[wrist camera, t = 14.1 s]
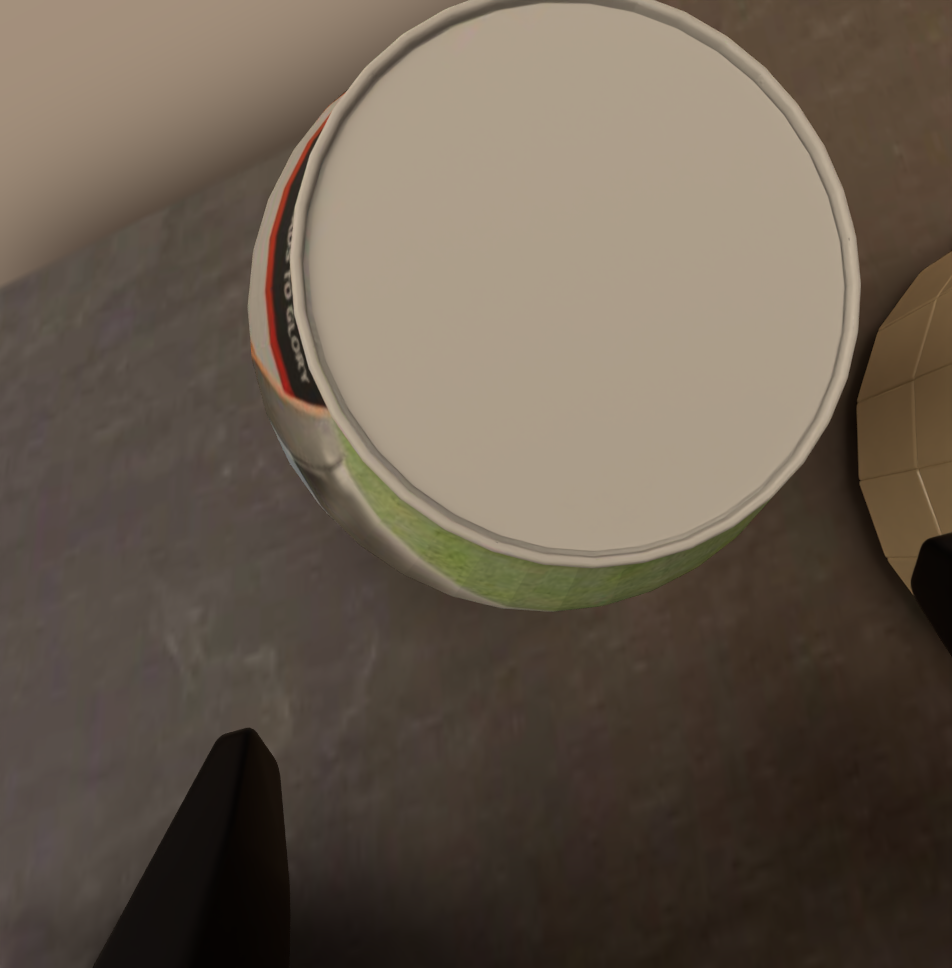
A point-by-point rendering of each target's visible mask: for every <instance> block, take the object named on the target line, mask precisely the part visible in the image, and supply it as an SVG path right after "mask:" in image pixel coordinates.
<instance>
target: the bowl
mask: <svg viewBox="0 0 952 968" xmlns="http://www.w3.org/2000/svg"><path fill="white" fill-rule="evenodd" d="M878 331H879V332H878V333H877V336H876V339H875V342H874V346H873V349H872V352H871V355H870V359H869V362H868V365H867V369H866V372H865V375H864V379H863V382H862V385H861V388H860V392H859V395H858V398H857V402H858V404H857V406H856V408H857V441H858V473H859V480H861V481H860V482H859V484H860V487H861V490H862V493H863V496H864V498H865V501H866V504H867V507H868V510H869V513H870V515H871V518H872V521H873V524H874V527H875V530H876V532H877V535H878V538H879V541H880V544H881V547H882V549H883V552H884V555H885V556H886V557H888V559H887V560H888V562H889V563H890V565H891V566H892V567H893V569H894V570H895V571H896V573H897V574H898V575H899V577H900V578H901V579H902V581H903V582H904V584H905V585H906V586H907V588H908V589H909V590H910V592H911V593H912V589H911V577H912V574H913V570H914V567H915V564H916V561H917V557H918V554H919V551H920V548H921V545H922V543H923V542H924V541H925V540H926V539H929V538H932V537H935V536H939V535H943V534H946V533H950V532H952V250H951V251H950V252H949V253H947V254H946V255H944V256H943V257H941V258H940V259H938V260H937V261H935V262H934V263H932V264H931V265H930V266H928V267H927V268H925V269H924V270H923V271H922V272H921V273H919V275H918V276H917V277H916V279H915V280H914V282H913V283H912V284H911V286H910V287H909V288H908V290H907V291H906V292H905V294H904V295H903V297H902V298H901V299H900V301H899V302H898V303H897V305H896V306H895V307H894V309H893V310H892V312H891V313H890V314H889V316H888V317H887V318H886V320H885V321H884V323H883V324H882V325H881V327H880V328H879V330H878ZM912 594H913V593H912ZM913 596H914V595H913Z"/></svg>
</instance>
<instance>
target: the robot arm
mask: <svg viewBox="0 0 952 968" xmlns="http://www.w3.org/2000/svg"><path fill="white" fill-rule="evenodd" d="M911 589H912V593H913V595H914V597H915V599H916V601H917V603H918V604H919V606H920V607H921V609H922V611H923V612H924V614H925V615H926V617H927V618H928V620H929V622H930V623H931V625H932V626H933V628H934V630H935V631H936V633H937V634H938V636H939V638H940V639H941V641H942V642H943V644H944V645H945V647H946V649H947V650H948V652H949V653H950V655H951V657H952V532H950V533H946V534H943V535H939V536H935V537H932V538H929V539H926V540H925V541H924V542H923V543H922V545H921V548H920V551H919V554H918V557H917V561H916V564H915V567H914V570H913V574H912V577H911ZM289 956H290V885H289V871H288V860H287V849H286V837H285V826H284V814H283V803H282V791H281V780H280V773H279V768H278V765H277V762H276V760H275V758H274V757H273V755H272V754H271V752H270V751H269V749H268V748H267V747H266V745H265V744H264V742H263V741H262V739H261V738H260V736H259V735H258V734H257V732H256V731H255V730H254V729H251V728H245V729H241V730H237V731H234V732H230V733H227V734H224V735H222V736H221V737H219V738H218V739H217V741H216V742H215V744H214V745H213V747H212V749H211V751H210V753H209V755H208V756H207V758H206V760H205V762H204V764H203V766H202V767H201V769H200V771H199V773H198V775H197V777H196V778H195V780H194V782H193V784H192V786H191V788H190V789H189V791H188V793H187V795H186V797H185V799H184V801H183V802H182V804H181V806H180V808H179V810H178V812H177V813H176V815H175V817H174V819H173V821H172V823H171V824H170V826H169V828H168V830H167V832H166V834H165V835H164V837H163V839H162V841H161V843H160V845H159V847H158V848H157V850H156V852H155V854H154V856H153V858H152V859H151V861H150V863H149V865H148V867H147V869H146V870H145V872H144V874H143V876H142V878H141V880H140V881H139V883H138V885H137V887H136V889H135V891H134V893H133V894H132V896H131V898H130V900H129V902H128V904H127V905H126V907H125V909H124V911H123V913H122V915H121V916H120V918H119V920H118V922H117V924H116V926H115V927H114V929H113V931H112V933H111V935H110V937H109V938H108V940H107V942H106V944H105V946H104V948H103V950H102V951H101V953H100V955H99V957H98V959H97V961H96V962H95V964H94V966H93V968H289Z"/></svg>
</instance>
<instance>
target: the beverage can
mask: <svg viewBox="0 0 952 968" xmlns="http://www.w3.org/2000/svg"><path fill="white" fill-rule="evenodd" d="M860 292H861V280H860V270H859V260H858V250H857V240H856V234H855V231H854V227H853V223H852V219H851V215H850V212H849V208H848V204H847V200H846V197H845V193H844V189H843V187H842V185H841V183H840V180H839V178H838V176H837V173H836V171H835V169H834V167H833V164H832V162H831V160H830V158H829V155H828V153H827V151H826V148H825V146H824V144H823V143H822V141H821V140H820V138H819V137H818V135H817V133H816V132H815V130H814V129H813V127H812V126H811V124H810V123H809V121H808V119H807V118H806V116H805V115H804V113H803V112H802V110H801V108H800V107H799V105H798V104H797V103H796V102H795V101H794V99H793V98H792V97H791V96H790V95H789V94H788V93H787V92H786V90H785V89H784V88H783V87H782V86H781V85H780V84H779V83H778V81H777V80H776V79H775V78H774V77H773V76H772V75H771V74H770V72H769V71H768V70H767V69H766V68H765V67H764V66H763V65H761V64H760V63H759V62H758V61H757V60H755V59H754V58H753V57H752V56H750V55H749V54H748V53H747V52H746V51H744V50H743V49H742V48H741V47H739V46H738V45H737V44H736V43H735V42H733V41H732V40H731V39H730V38H729V37H727V36H726V35H724V34H722V33H720V32H719V31H717V30H715V29H714V28H712V27H710V26H708V25H707V24H705V23H703V22H702V21H700V20H698V19H696V18H695V17H693V16H691V15H689V14H688V13H686V12H684V11H681V10H679V9H676V8H673V7H671V6H668V5H666V4H663V3H660V2H658V1H655V0H469V1H466V2H464V3H461V4H458V5H455V6H453V7H450V8H447V9H445V10H443V11H441V12H440V13H438V14H436V15H435V16H433V17H431V18H430V19H428V20H426V21H425V22H423V23H421V24H419V25H418V26H416V27H414V28H412V29H411V30H409V31H407V32H406V33H404V34H403V35H401V36H400V37H399V38H398V39H397V40H396V41H395V42H394V43H392V44H391V45H390V46H389V47H388V48H387V49H385V50H384V51H383V52H382V53H381V54H380V55H379V56H378V57H376V58H375V59H374V60H373V61H372V62H371V63H370V64H368V65H367V66H366V67H365V68H364V70H363V71H362V72H361V73H360V75H359V76H358V77H357V79H356V80H355V81H354V82H353V84H352V85H351V86H350V88H348V89H347V90H346V91H345V92H344V93H343V94H342V95H340V96H339V97H338V98H337V99H336V100H335V101H334V102H333V103H331V104H330V105H329V106H328V107H327V108H326V110H324V112H323V113H322V114H321V116H320V117H319V118H318V119H317V121H316V122H315V123H314V125H313V126H312V127H311V129H310V130H309V131H308V132H307V134H306V135H305V136H304V138H303V139H302V140H301V141H300V143H299V144H298V145H297V147H296V148H295V149H294V150H293V152H292V154H291V156H290V158H289V160H288V162H287V164H286V166H285V168H284V170H283V172H282V174H281V176H280V178H279V180H278V182H277V184H276V186H275V188H274V189H273V191H272V193H271V195H270V197H269V200H268V203H267V206H266V209H265V213H264V216H263V220H262V223H261V226H260V230H259V233H258V237H257V240H256V244H255V247H254V250H253V259H252V269H251V279H250V289H249V299H248V316H249V328H250V340H251V352H252V362H253V366H254V369H255V373H256V377H257V380H258V384H259V388H260V392H261V395H262V399H263V403H264V406H265V410H266V414H267V416H268V418H269V420H270V422H271V424H272V426H273V429H274V431H275V433H276V435H277V437H278V439H279V441H280V443H281V445H282V448H283V450H284V452H285V454H286V456H287V458H288V460H289V462H290V464H291V466H292V467H293V468H294V470H295V471H296V473H297V474H298V475H299V477H300V478H301V480H302V481H303V482H304V484H305V485H306V487H307V488H308V489H309V491H310V492H311V494H312V495H313V496H314V498H315V499H316V501H317V502H318V503H319V505H320V506H321V507H322V508H323V509H324V510H325V511H326V512H327V513H328V514H329V515H330V516H331V517H332V518H333V519H334V520H335V521H336V522H337V523H338V524H339V525H340V526H341V527H342V528H343V529H344V530H345V531H346V532H347V533H348V534H349V535H350V536H351V537H352V538H353V539H354V540H355V541H356V542H357V543H358V544H359V545H361V546H362V547H364V548H365V549H367V550H368V551H369V552H371V553H372V554H374V555H375V556H377V557H378V558H380V559H381V560H383V561H384V562H386V563H387V564H389V565H390V566H391V567H393V568H394V569H396V570H397V571H399V572H400V573H402V574H403V575H406V576H408V577H410V578H412V579H414V580H417V581H419V582H421V583H423V584H426V585H428V586H430V587H432V588H434V589H437V590H439V591H441V592H443V593H446V594H448V595H450V596H454V597H458V598H462V599H466V600H470V601H474V602H478V603H482V604H486V605H490V606H494V607H498V608H502V609H518V610H533V611H548V612H555V611H563V610H572V609H580V608H589V607H598V606H604V605H608V604H611V603H614V602H618V601H621V600H624V599H627V598H631V597H634V596H637V595H641V594H644V593H647V592H650V591H653V590H655V589H657V588H659V587H660V586H662V585H664V584H666V583H668V582H670V581H672V580H674V579H676V578H678V577H680V576H682V575H684V574H686V573H688V572H690V571H692V570H693V569H695V568H697V567H698V566H700V565H701V564H702V563H704V562H705V561H706V560H708V559H709V558H710V557H711V556H713V555H714V554H715V553H717V552H718V551H719V550H721V549H722V548H723V547H724V546H726V545H727V544H728V543H730V542H731V541H732V540H734V539H735V538H736V537H737V536H738V535H739V534H740V533H741V532H742V530H743V529H744V528H745V527H746V526H747V525H748V524H749V523H750V522H751V521H752V519H753V518H754V517H755V516H756V515H757V514H758V513H759V512H760V511H761V510H762V509H763V507H764V506H765V505H766V504H767V503H768V502H769V501H770V500H771V498H772V497H773V496H774V495H775V494H776V493H777V492H778V491H779V490H780V488H781V487H782V486H783V485H784V484H785V483H786V482H787V481H788V480H789V479H790V478H791V476H792V475H793V474H794V473H795V472H796V471H797V470H798V469H799V468H800V467H801V465H802V464H803V463H804V462H805V460H806V459H807V457H808V456H809V454H810V452H811V451H812V449H813V448H814V446H815V445H816V443H817V441H818V440H819V438H820V437H821V435H822V433H823V432H824V430H825V429H826V427H827V426H828V424H829V422H830V420H831V417H832V415H833V413H834V410H835V408H836V405H837V403H838V400H839V398H840V396H841V393H842V391H843V388H844V386H845V383H846V381H847V379H848V374H849V370H850V366H851V361H852V357H853V352H854V348H855V344H856V339H857V335H858V326H859V309H860Z"/></svg>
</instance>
